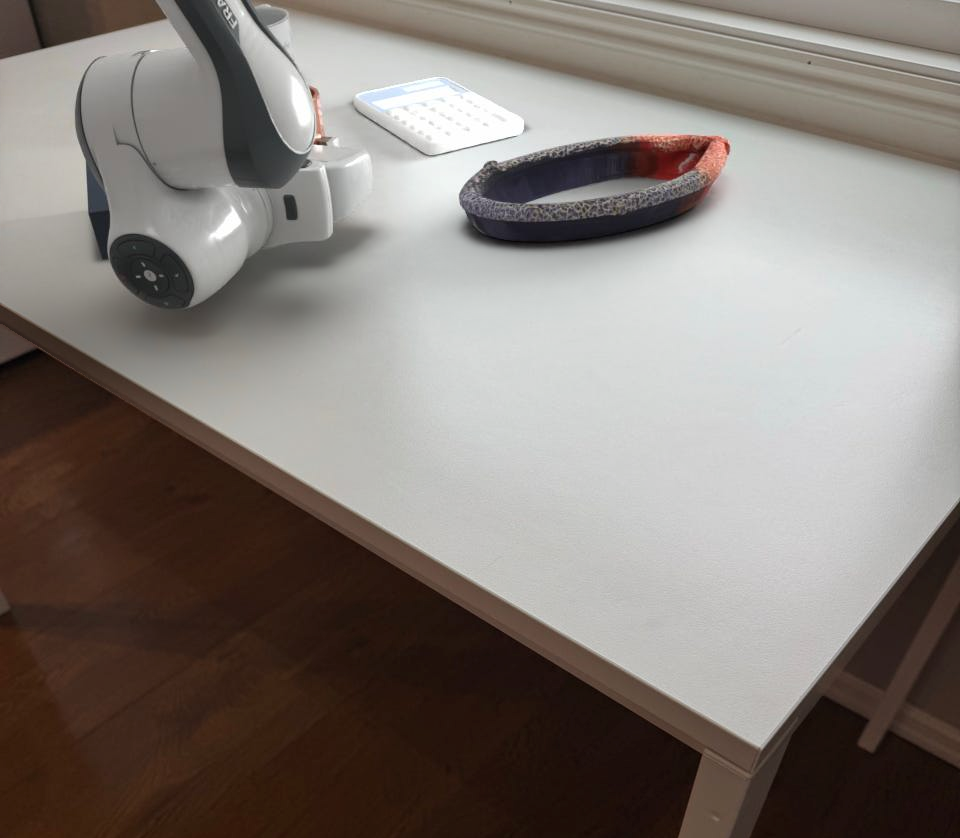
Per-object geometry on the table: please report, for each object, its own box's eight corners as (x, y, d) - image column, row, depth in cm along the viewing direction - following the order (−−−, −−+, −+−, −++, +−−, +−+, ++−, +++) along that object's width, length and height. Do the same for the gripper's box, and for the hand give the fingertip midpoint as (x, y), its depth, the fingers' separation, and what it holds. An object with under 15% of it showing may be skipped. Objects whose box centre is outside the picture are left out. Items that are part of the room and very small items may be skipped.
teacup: (273, 103, 123) (262, 31, 117) (200, 94, 125) (185, 23, 120) (323, 69, 132) (315, 1, 126) (253, 62, 134) (242, -5, 129)
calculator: (428, 158, 109) (428, 140, 108) (350, 108, 121) (349, 91, 120) (527, 134, 114) (527, 117, 112) (443, 88, 126) (442, 72, 124)
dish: (432, 212, 99) (429, 161, 96) (685, 160, 108) (692, 111, 104) (497, 274, 89) (497, 220, 86) (770, 211, 98) (781, 160, 94)
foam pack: (104, 265, 92) (88, 212, 88) (100, 207, 101) (85, 157, 98) (210, 250, 94) (198, 198, 90) (196, 195, 103) (185, 145, 100)
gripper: (142, 220, 92) (207, 166, 101) (344, 242, 88) (393, 183, 97) (123, 150, 87) (193, 99, 96) (335, 169, 83) (388, 115, 92)
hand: (295, 141), depth 96 cm, fingers closed on terracotta cup, 7 cm apart
